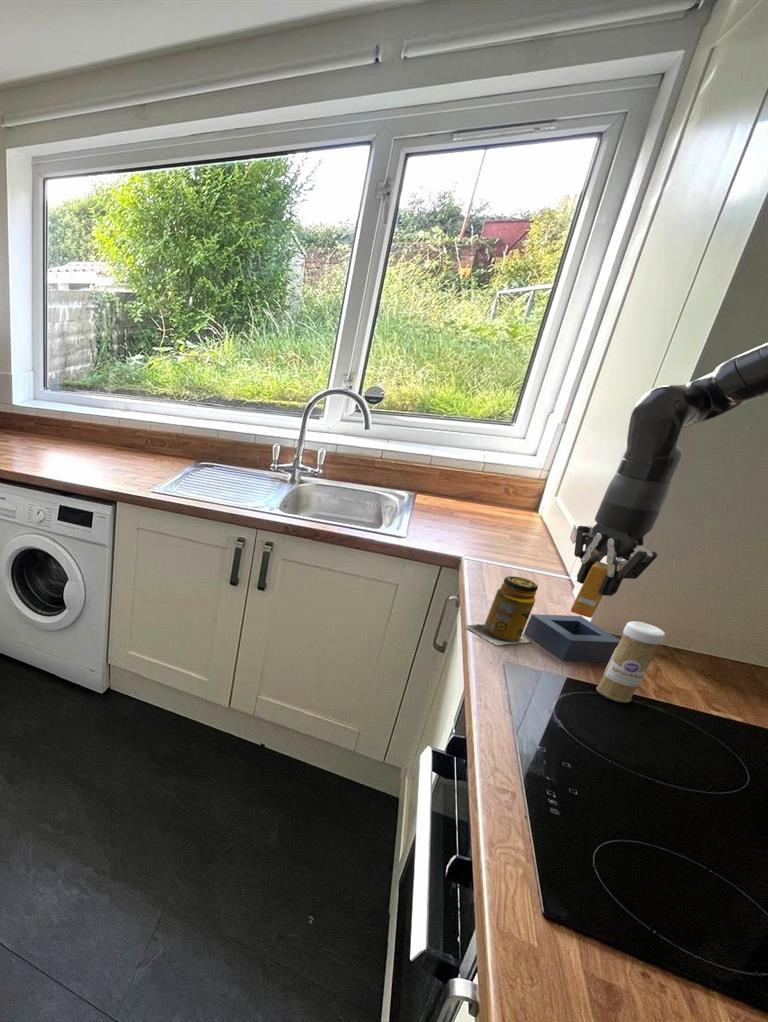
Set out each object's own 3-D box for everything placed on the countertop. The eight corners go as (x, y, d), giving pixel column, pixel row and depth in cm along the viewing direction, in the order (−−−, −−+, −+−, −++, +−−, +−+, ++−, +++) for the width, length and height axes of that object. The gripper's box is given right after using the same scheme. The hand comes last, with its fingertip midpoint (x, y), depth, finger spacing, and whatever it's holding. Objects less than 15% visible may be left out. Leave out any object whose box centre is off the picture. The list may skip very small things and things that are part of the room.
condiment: (530, 642, 114) (553, 588, 110) (495, 646, 113) (516, 591, 108) (497, 623, 121) (517, 571, 116) (463, 626, 119) (482, 574, 115)
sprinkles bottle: (602, 699, 98) (636, 630, 93) (590, 684, 102) (622, 617, 97) (636, 706, 96) (672, 637, 91) (623, 691, 100) (657, 623, 95)
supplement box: (593, 619, 108) (615, 570, 104) (569, 612, 110) (590, 564, 106) (596, 613, 110) (617, 566, 106) (573, 606, 112) (593, 559, 108)
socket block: (614, 663, 109) (624, 642, 107) (562, 661, 109) (571, 640, 107) (572, 635, 118) (580, 615, 116) (523, 633, 118) (531, 614, 116)
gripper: (695, 516, 95) (650, 608, 101) (617, 490, 108) (582, 572, 115) (649, 514, 95) (607, 606, 102) (577, 488, 108) (544, 571, 115)
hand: (594, 588), depth 108 cm, fingers closed on supplement box, 4 cm apart
